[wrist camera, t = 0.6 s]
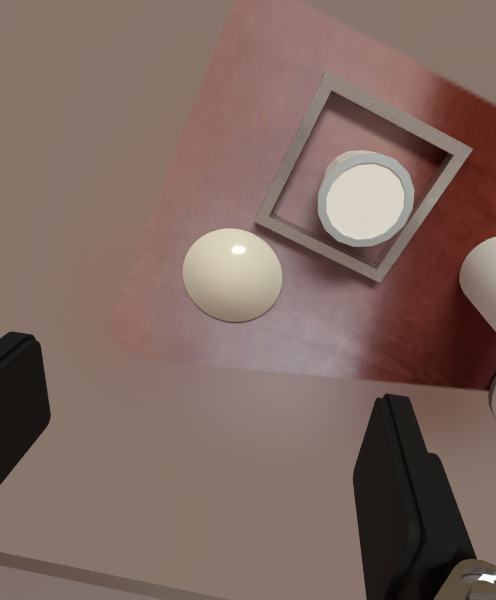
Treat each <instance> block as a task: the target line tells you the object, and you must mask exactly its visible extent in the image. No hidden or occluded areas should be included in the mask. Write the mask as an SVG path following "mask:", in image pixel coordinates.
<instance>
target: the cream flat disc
mask: <svg viewBox="0 0 496 600" xmlns="http://www.w3.org/2000/svg"><path fill="white" fill-rule="evenodd" d="M183 281H184V285H185V288H186V291H187V293H188V295H189V296H190V298H191V299H192V301H193V302H194V303H195V304H196V305H197V306H198V307H199V308H200V309H201V310H202V311H204V312H205V313H207V314H208V315H210V316H212V317H214V318H217V319H220V320H224V321H229V322H242V321H248V320H251V319H254V318H257V317H259V316H261V315H262V314H264V313H265V312H266V311H268V310H269V309H270V308H271V307H272V306H273V304H274V303H275V301H276V300H277V298H278V296H279V294H280V291H281V287H282V268H281V264H280V261H279V259H278V257H277V255H276V253H275V251H274V250H273V249H272V248H271V246H270V245H269V244H268V243H267V242H266V241H265V240H263V239H262V238H261V237H259V236H257V235H256V234H254V233H251V232H249V231H246V230H243V229H237V228H222V229H217V230H214V231H211V232H209V233H207V234H205V235H203V236H202V237H200V238H199V239H198V240H197V241H196V242H195V243H194V244H193V245H192V247H191V248H190V249H189V251H188V253H187V255H186V257H185V260H184V264H183Z"/></svg>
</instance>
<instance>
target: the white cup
mask: <svg viewBox="0 0 496 600" xmlns="http://www.w3.org/2000/svg"><path fill="white" fill-rule="evenodd" d="M413 200H414V187H413V184H412V182H411V179H410V176H409V173H408V172H407V171H406V170H405V169H404V168H403V167H402V166H401V165H400V164H399V163H398V162H397V161H396V160H395V159H393V158H390V157H387V156H385V155H382V154H379V153H375V152H369V151H363V150H359V151H348V152H346V153H344V154H342V155H340V156H338V157H336V158H335V159H334V160H333V161H332V162H331V163H330V165H329V166H328V167H327V168H326V171H325V173H324V176H323V178H322V181H321V185H320V189H319V193H318V215H319V217H320V220H321V222H322V224H323V226H324V229H325V230H326V231H327V232H328V233H329V234H330V235H331V236H332V237H334V238H335V239H336V240H337V241H338V242H341V243H344V244H347V245H350V246H353V247H365V246H374V245H376V244H379V243H381V242H383V241H386V240H388V239H390V238H391V237H392V236H393V235H395V234H396V233H397V232H398V231H399V230H400V229H401V228H402V227H403V226H404V225H405V223H406V221H407V219H408V217H409V215H410V213H411V211H412V209H413Z"/></svg>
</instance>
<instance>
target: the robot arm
mask: <svg viewBox="0 0 496 600" xmlns="http://www.w3.org/2000/svg"><path fill="white" fill-rule="evenodd" d="M488 396H489V405H490V408H491V411H492V413H493V415H494V417H495V418H496V376H495V377H494V379H493V381H492V383H491V386H490V390H489V395H488ZM50 416H51V414H50V406H49V400H48V393H47V386H46V379H45V373H44V366H43V359H42V352H41V346H40V343H39V342H38V341H36V339H35V337H34V336H33V335H31V334H25V333H18V332H9V333H7V334H6V335H4V336H3V337H2V338H0V484H1V483H2V482H3V481H4V479H5V478H6V477H7V476H8V475H9V473H10V472H11V471H12V470H13V468H14V467H15V466H16V465H17V463H18V462H19V461H20V460H21V458H22V457H23V456H24V455H25V453H26V452H27V451H28V450H29V448H30V447H31V446H32V444H33V443H34V442H35V441H36V440H37V438H38V437H39V436H40V434H41V433H42V432H43V431H44V430H45V428H46V427H47V425H48V423H49V421H50ZM353 485H354V494H355V503H356V511H357V520H358V529H359V538H360V546H361V554H362V563H363V572H364V580H365V589H366V598H367V600H496V566H495V565H494V564H491V563H488V562H486V561H483V560H478V559H477V558H476V555H475V552H474V549H473V547H472V544H471V541H470V539H469V536H468V533H467V530H466V528H465V525H464V522H463V519H462V517H461V514H460V511H459V509H458V506H457V503H456V500H455V498H454V495H453V493H452V489H451V487H450V484H449V481H448V479H447V476H446V473H445V470H444V468H443V465H442V463H441V460H440V458H439V457H438V456H437V455H436V454H434V453H428V452H427V449H426V446H425V443H424V440H423V437H422V434H421V431H420V428H419V425H418V422H417V419H416V417H415V413H414V410H413V407H412V404H411V402H410V399H409V398H408V397H406V396H399V395H393V394H385V395H384V397H383V398H377V399H376V401H375V403H374V407H373V410H372V413H371V416H370V419H369V423H368V426H367V429H366V432H365V436H364V439H363V442H362V445H361V448H360V452H359V455H358V459H357V461H356V465H355V468H354V473H353ZM0 600H227V599H223V598H218V597H214V596H209V595H204V594H199V593H195V592H190V591H185V590H181V589H176V588H171V587H167V586H162V585H157V584H152V583H148V582H143V581H138V580H132V579H128V578H123V577H118V576H114V575H108V574H104V573H99V572H95V571H90V570H85V569H80V568H75V567H70V566H65V565H60V564H55V563H51V562H46V561H41V560H36V559H31V558H27V557H21V556H17V555H11V554H7V553H2V552H0Z"/></svg>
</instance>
